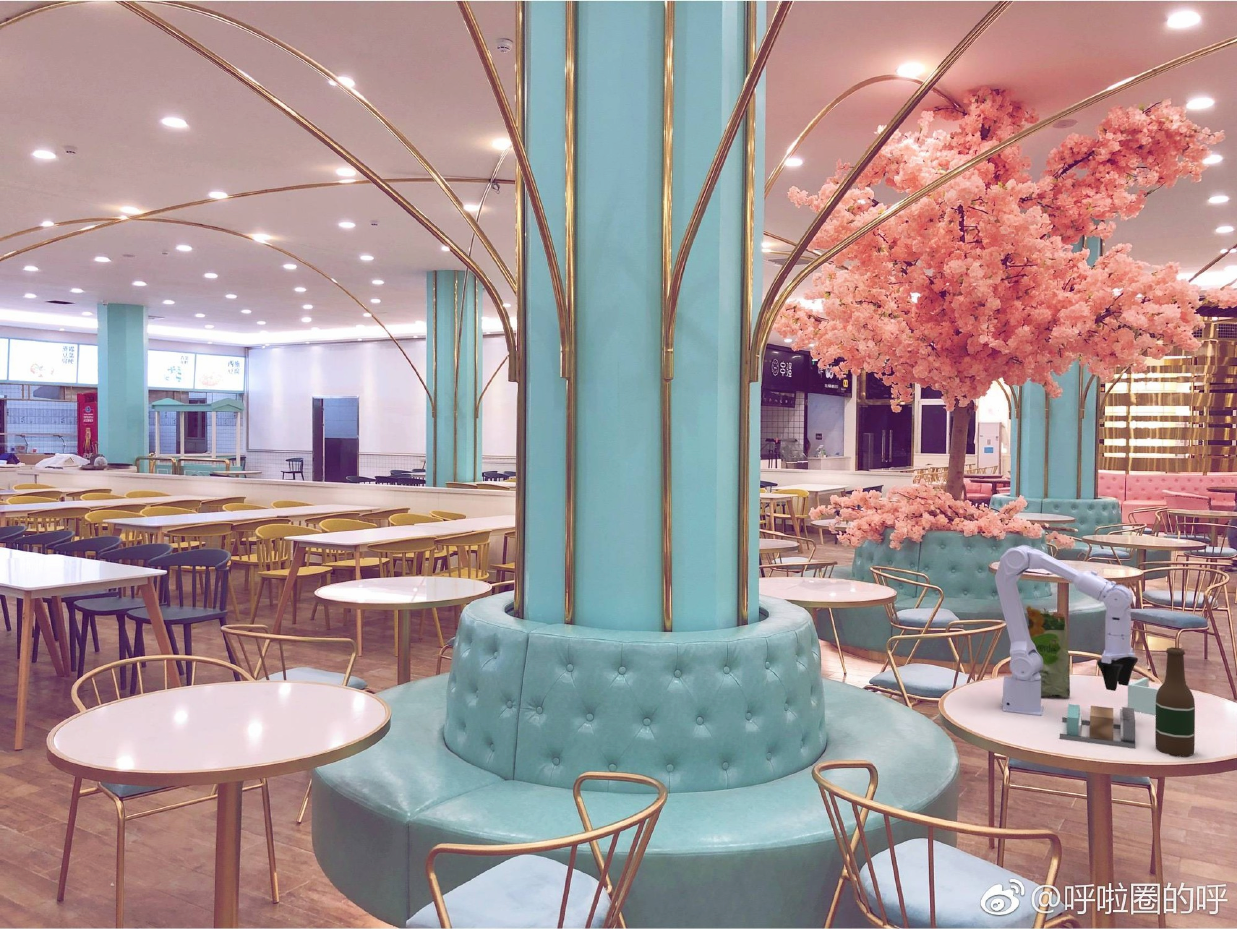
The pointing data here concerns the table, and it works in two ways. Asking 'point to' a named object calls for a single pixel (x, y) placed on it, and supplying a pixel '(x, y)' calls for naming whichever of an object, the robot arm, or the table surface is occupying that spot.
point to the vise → (1125, 728)
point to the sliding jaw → (1074, 720)
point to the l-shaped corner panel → (1142, 697)
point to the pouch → (1051, 650)
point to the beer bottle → (1175, 709)
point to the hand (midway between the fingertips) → (1117, 687)
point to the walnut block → (1101, 722)
